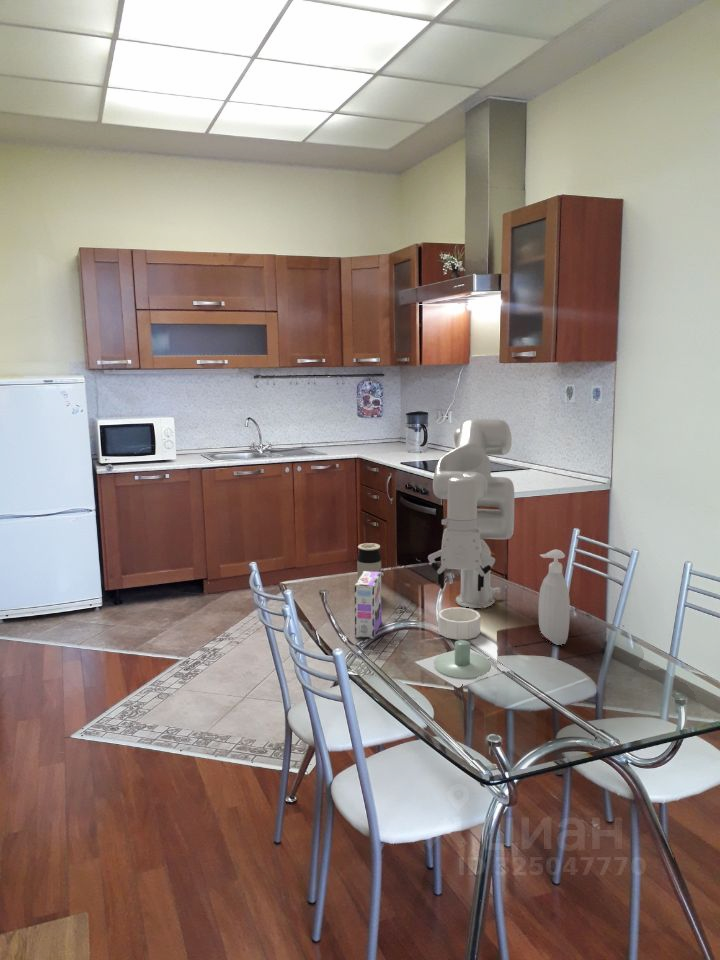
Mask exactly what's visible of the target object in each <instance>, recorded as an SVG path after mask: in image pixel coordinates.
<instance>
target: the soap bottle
mask: <svg viewBox="0 0 720 960" xmlns="http://www.w3.org/2000/svg"><path fill="white" fill-rule="evenodd" d="M539 556H540V557H541V558H543V559H547V558H548V559H553V561H552V562H550V563H549V565H548V573H547V574H546V576H545V577H544V579H543V580H542V583H541V585H540V588H539V596H538V613H537V614H538V615H537V616H538V625H539V626H538V627H539V631H541V632H540V634H541V633H542V634H543V635H544V636H545V637H546V638H548V639H549V640H550V641H552V642H554V643H556V644H559V645H561V646H563V645H562V644H564V645H566V642H567V641H568V636H569V631H570V621H571V620H570V619H571V605H570V603H571V602H570V593H569V588H568V585H567V581H566V580H565V578H564V575H563V564H562V563H561V562H560V561H559V559H561V560H562V559H564V558H565V557H566V555H565V553H564V552H563V551H562V550H560V549H557V548H556V549H552V550H550V551H547V552H546V553H543V554H539Z"/></svg>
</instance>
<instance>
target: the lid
mask: <svg viewBox="0 0 720 960" xmlns="http://www.w3.org/2000/svg"><path fill="white" fill-rule="evenodd" d="M470 649H471V642H470V641H468V640H466V639H461V640H455V642H454V650H455V652H450V651H448V652H449V653H447V652H443V653H444V654H443V653H441V655H440V654H438V655H439V656H438V657H436V658H435V660H434V668H435V669H436V670H437V671H438V672H439V673H441V674H443V675H446V676H449V677H453V678H462V679H469V678H477V677H479V676H482V675H484V674H486V673H487V672H489V671H490V669H491V663H490V661H489V660H488V659H487V658H488V657H487V658H485V657H486V656H485V657H483V656H484V655H483V656H481V655H482V654H481V655H479V654H480V653H479V654H475V653H470Z"/></svg>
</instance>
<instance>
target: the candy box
mask: <svg viewBox="0 0 720 960" xmlns="http://www.w3.org/2000/svg"><path fill="white" fill-rule="evenodd" d="M382 615H383V614H382V571H381V572H371V571H363V573H362V575H361V576H360V578H359V579H358V578H357V581H356V583H355V584H354V637H355V638H359V639H375V637H376V635H377V633H378V631H379V629H380V626H381V624H382V622H383V621H382Z"/></svg>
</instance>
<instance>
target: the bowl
mask: <svg viewBox="0 0 720 960" xmlns="http://www.w3.org/2000/svg"><path fill="white" fill-rule="evenodd" d="M481 618H482V617H481V614H480V612H479V611H477V610H475V609H473V608H466V607H463V606H459V607H455V606H454V607H448V608H444V609H441V610H440V611H439V612H438V613H437V631H438V633H439V635H441V636H442V637H444V638H447V639H452V640H455V641H458V640H471V639H473V638H474V639H475V638H477V637H478V636H479V635H480V634H481V622H482V621H481Z"/></svg>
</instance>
